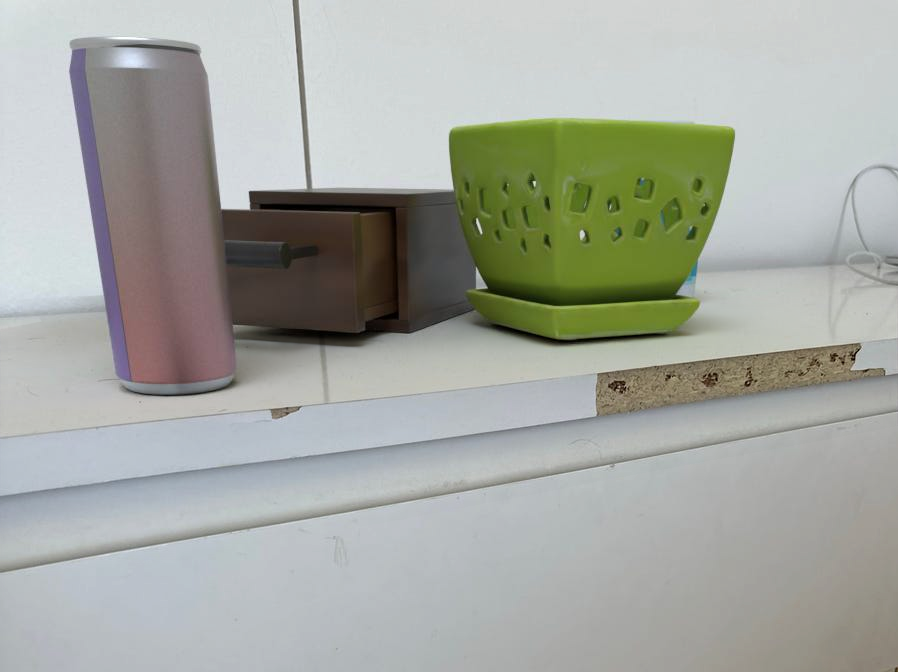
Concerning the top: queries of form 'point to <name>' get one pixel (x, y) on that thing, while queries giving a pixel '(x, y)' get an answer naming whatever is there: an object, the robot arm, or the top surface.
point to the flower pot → (587, 220)
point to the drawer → (311, 266)
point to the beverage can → (155, 211)
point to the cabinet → (405, 248)
